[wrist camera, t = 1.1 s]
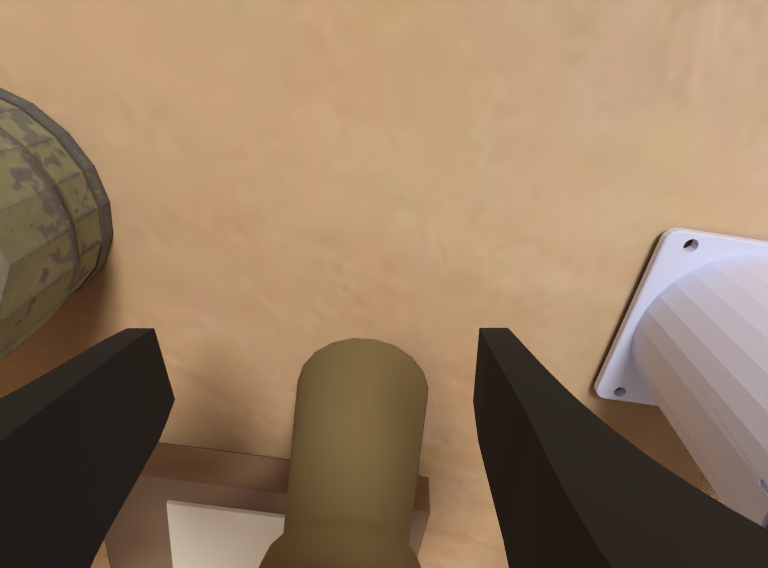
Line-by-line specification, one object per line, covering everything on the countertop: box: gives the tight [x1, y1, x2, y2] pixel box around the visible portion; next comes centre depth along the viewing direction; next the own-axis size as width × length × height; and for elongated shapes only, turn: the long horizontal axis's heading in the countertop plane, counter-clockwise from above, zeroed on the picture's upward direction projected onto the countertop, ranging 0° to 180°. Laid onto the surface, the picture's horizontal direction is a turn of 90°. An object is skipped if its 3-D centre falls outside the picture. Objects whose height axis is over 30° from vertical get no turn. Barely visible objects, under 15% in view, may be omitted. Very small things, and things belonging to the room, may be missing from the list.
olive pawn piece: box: [259, 338, 428, 568], centre depth 18 cm, size 6×6×11 cm
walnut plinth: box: [104, 443, 430, 568], centre depth 27 cm, size 16×12×2 cm
